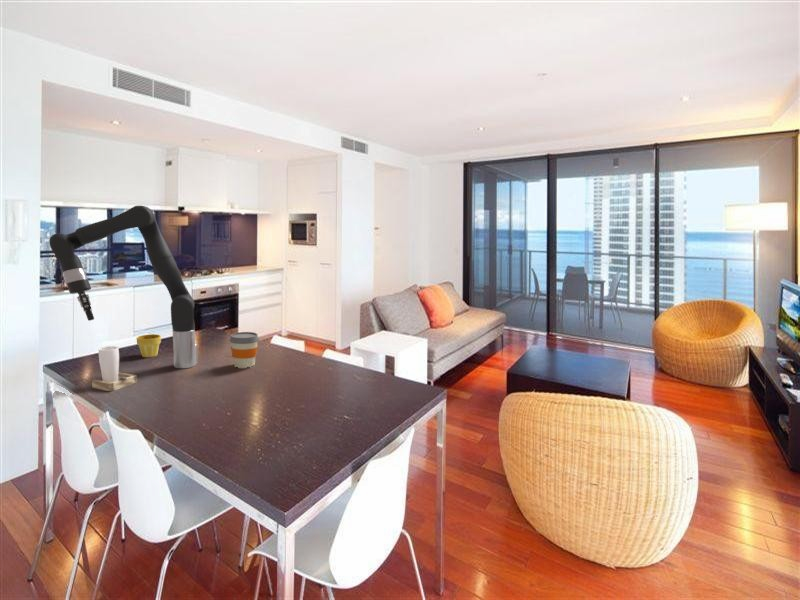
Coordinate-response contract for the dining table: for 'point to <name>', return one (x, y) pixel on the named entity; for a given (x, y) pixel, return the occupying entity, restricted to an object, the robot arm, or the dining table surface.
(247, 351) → the reusable coffee cup
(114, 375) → the drinking glass
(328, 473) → the dining table surface
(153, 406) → the dining table surface
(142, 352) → the plant pot
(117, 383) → the oak dock
